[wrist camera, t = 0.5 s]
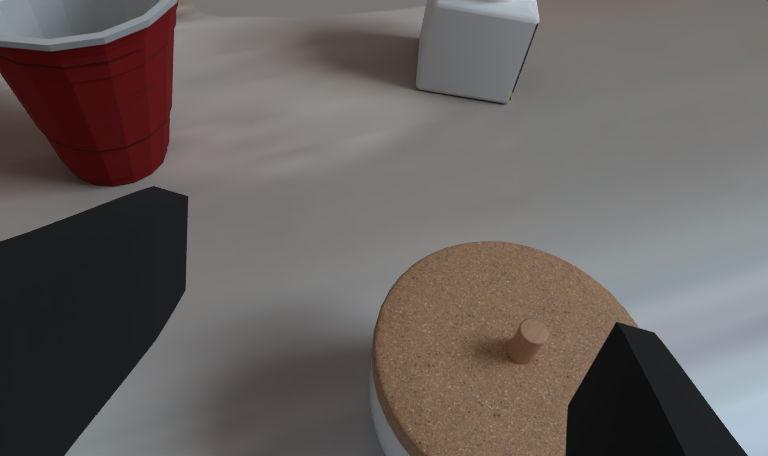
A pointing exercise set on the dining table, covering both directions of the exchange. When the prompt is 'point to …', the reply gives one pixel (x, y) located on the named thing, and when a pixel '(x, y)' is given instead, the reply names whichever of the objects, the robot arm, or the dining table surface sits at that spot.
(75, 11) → the plastic cup
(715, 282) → the dining table surface
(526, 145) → the dining table surface
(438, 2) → the medicine bottle
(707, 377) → the dining table surface
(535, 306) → the lidded jar
